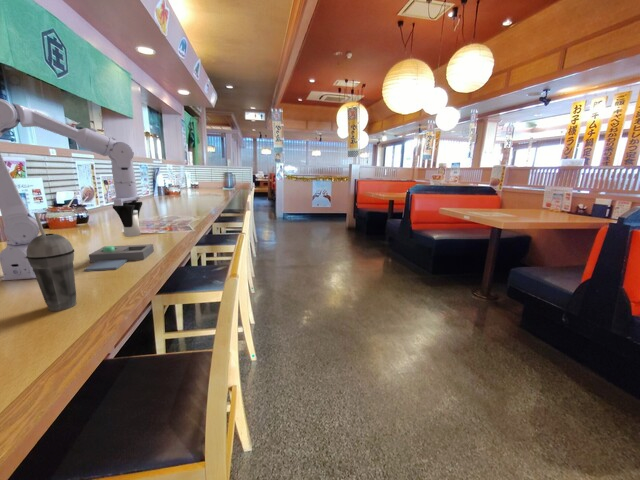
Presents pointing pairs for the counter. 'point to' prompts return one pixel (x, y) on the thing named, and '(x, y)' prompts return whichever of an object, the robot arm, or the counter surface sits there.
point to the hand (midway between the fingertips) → (131, 225)
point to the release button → (109, 248)
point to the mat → (106, 265)
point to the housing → (123, 253)
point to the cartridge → (133, 226)
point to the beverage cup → (53, 268)
